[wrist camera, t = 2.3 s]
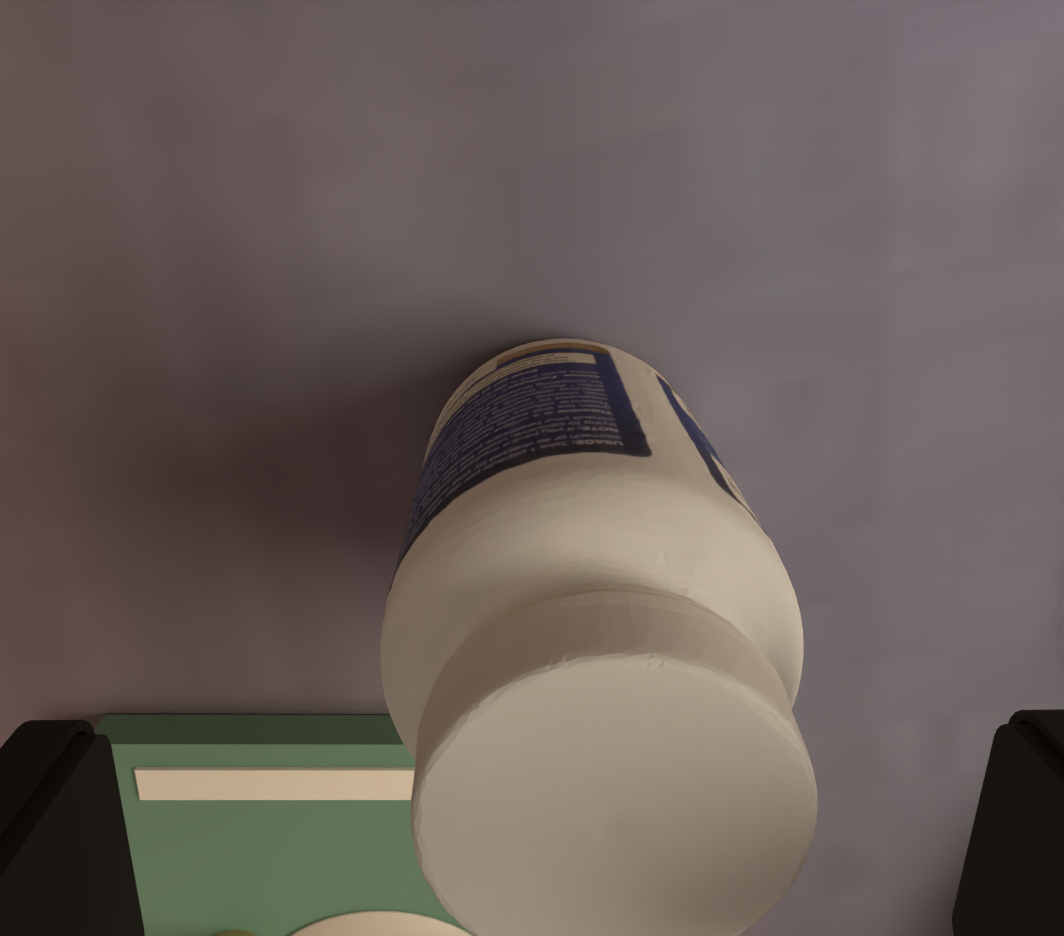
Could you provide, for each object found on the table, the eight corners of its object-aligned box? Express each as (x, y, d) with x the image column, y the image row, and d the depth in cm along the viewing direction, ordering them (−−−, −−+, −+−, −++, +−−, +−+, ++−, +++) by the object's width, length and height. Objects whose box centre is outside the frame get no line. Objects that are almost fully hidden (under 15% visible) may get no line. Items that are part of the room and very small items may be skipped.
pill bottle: (389, 529, 18) (260, 945, 9) (488, 288, 16) (455, 497, 7) (626, 618, 19) (730, 1079, 10) (745, 397, 17) (1007, 709, 8)
